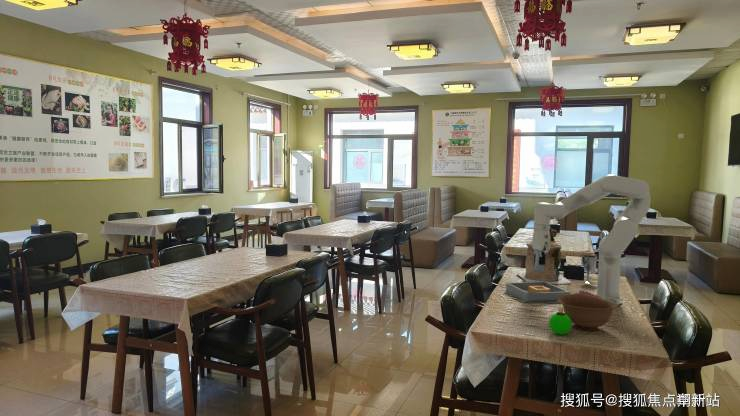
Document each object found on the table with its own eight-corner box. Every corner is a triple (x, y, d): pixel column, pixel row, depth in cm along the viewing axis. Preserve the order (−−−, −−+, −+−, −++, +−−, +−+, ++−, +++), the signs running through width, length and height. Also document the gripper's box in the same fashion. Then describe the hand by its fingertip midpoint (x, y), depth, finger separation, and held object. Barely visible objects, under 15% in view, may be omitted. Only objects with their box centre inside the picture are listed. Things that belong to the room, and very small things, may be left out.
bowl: (604, 320, 207) (605, 294, 206) (626, 338, 185) (628, 309, 184) (550, 318, 209) (551, 292, 208) (565, 335, 187) (566, 306, 186)
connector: (544, 270, 247) (546, 250, 246) (537, 270, 247) (538, 250, 246) (540, 269, 251) (541, 249, 250) (533, 269, 250) (534, 249, 250)
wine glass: (580, 283, 276) (582, 256, 275) (579, 280, 284) (580, 254, 283) (596, 284, 274) (597, 257, 273) (594, 281, 282) (595, 255, 280)
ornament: (565, 330, 193) (567, 305, 192) (575, 338, 184) (576, 311, 184) (545, 330, 192) (546, 305, 191) (553, 337, 184) (554, 311, 183)
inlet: (550, 294, 246) (550, 289, 246) (536, 294, 245) (536, 289, 245) (542, 290, 254) (542, 285, 254) (528, 290, 253) (528, 286, 252)
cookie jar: (526, 284, 273) (529, 226, 271) (515, 274, 298) (517, 221, 295) (572, 285, 273) (575, 226, 270) (556, 275, 297) (559, 222, 295)
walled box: (569, 301, 237) (570, 291, 237) (527, 302, 233) (527, 293, 233) (545, 290, 259) (545, 281, 259) (505, 291, 255) (506, 282, 255)
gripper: (557, 229, 240) (555, 267, 241) (539, 225, 256) (537, 260, 257) (543, 229, 238) (541, 267, 240) (526, 225, 255) (524, 260, 256)
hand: (539, 263), depth 249 cm, fingers closed on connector, 4 cm apart
